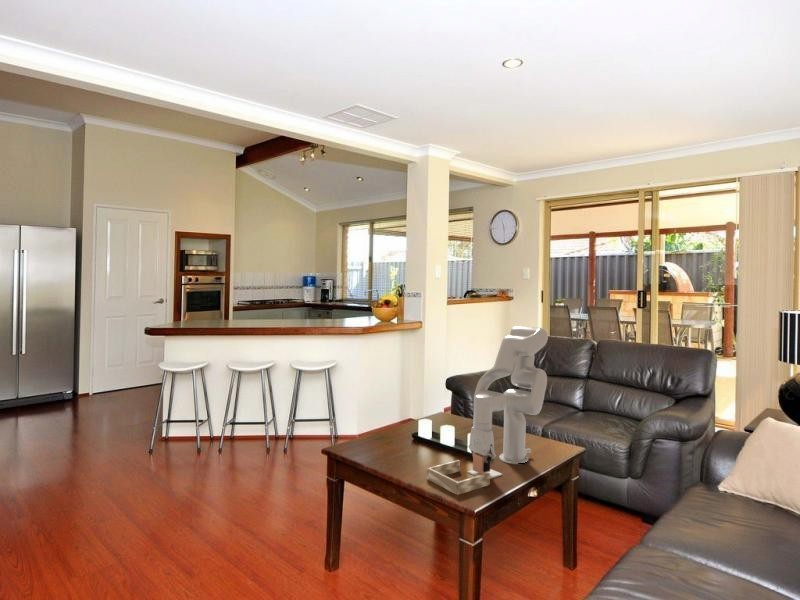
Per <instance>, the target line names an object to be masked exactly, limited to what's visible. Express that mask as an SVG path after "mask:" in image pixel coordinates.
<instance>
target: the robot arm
mask: <svg viewBox="0 0 800 600" xmlns="http://www.w3.org/2000/svg"><path fill="white" fill-rule="evenodd" d="M548 340H549V336H548V332H547V330H546V329H545V328H542V327H534V326H524V325H516V326H513V327H511V329H510V331H509V335H506V336H505V337H503V339H502V341H501V344H500V347H499V349H498V352H497V356H496V359H495V361H494V365H493V366H492V367H491V368H490V369H488V370H487V371H486V372H484V374H483V375H482V376H481V377H480V378H479V380H478V382H477V383H476V384H477V385H476V388H475V391H474V394H473V419H472V425H473V426H472V427H471V429H470V435H469V445H468V448H469V450H470V452H471V454H472V457H473V453H478V454H480V455H483V456H484V460H485V462H484V469H483V471H484V472H487V471H490V469H491V462H492V461H493V460H494V459H495V458H496V457H497V455H496V453H495V438H494V430H493V412H502V411H503V441H502V442H503V444H502V450H503V451H502V453H501V454H500V455H499V456H498V457H499V460H500V461H501V462H503V463H506V464H510V465H519V464H518V463H525V462H527V461H528V462H529V457H528V456H527V454H530V453H532V449H531V448H530V447H528V448H526V431H527V430H526V429H527V427H526V426H527V423H526V422H527V420H526V417H525V414H526V415H532V416H536V415H539V414H540V412H541V410H542V408H543V404H544V400H545V395H546V390H547V385H548V375H547V373H546V371H545V370H543V369H541V368H538V367H534V364H535V357H536V356H535V355H536V354H537V353H538V352H539V351H541V349H543V348H544V347H545V346H546V345H547V342H548ZM508 376H510V382H511V384H512V385H513V386H516V387H519V388H523V389H529V390H530V391H526V390H523V389H522V390H521V389H516V388H509V389H507V390H505V391H504V392H503V393H501V392H498V391H493V390H488V389H489V387H490V385H491V384H492V383H494V382H495V381H496V380H499V379H502V378H505V377H508ZM487 456H488V458H487ZM490 461H491V462H490ZM528 462H527V463H528ZM525 464H526V463H525Z"/></svg>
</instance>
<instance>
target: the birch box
mask: <svg viewBox="0 0 800 600" xmlns="http://www.w3.org/2000/svg"><path fill="white" fill-rule="evenodd" d="M460 471H461V459H460V460H459V459H456V460H453V461H449V462H445V463H441V464H438V465H434V466H431V467H427V468H426V480H427V481H429V482H431V483H434V484H435V485H437V486H439V487H441V488H443V489H445V490H447V491H448V492H451V493H453V494H455V495H457V496H459V495H462V494H465V493H469V492H471V491H475V490H478V489H481V488H483V487H488V486H489V485H490V484H491V479H490V473H486V474H482V475H479V476H473V477H469V478H465V479H461V480H459V481H458V480H456V479H453V478H451V477H449V476H447V475H451V474H454V473H458V472H460Z"/></svg>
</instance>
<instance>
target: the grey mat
mask: <svg viewBox="0 0 800 600" xmlns="http://www.w3.org/2000/svg"><path fill="white" fill-rule="evenodd" d="M487 473H490V480H491V479H495V478H498V477H502V476H503V473H501V472H499V471H496V470H494V469H492V468H490V472H487ZM467 474H469V475H471V476H473V477H475V476H479V475H482V474H480V473H478V472H476V471H474V470H473V469H471V470H467ZM484 474H486V473H484Z"/></svg>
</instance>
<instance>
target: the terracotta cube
mask: <svg viewBox="0 0 800 600" xmlns="http://www.w3.org/2000/svg"><path fill="white" fill-rule="evenodd" d="M472 455H473V456H472V459H473V460H472V470H474V471H476V472H478V473H480V474H484V473H487V472H490V471H487V472H484V471H483V469H484V462H485V460H484V456H483V455H480V454H478V453H473V454H472ZM487 458H488V456H487ZM491 462H492V461H490V463H491Z"/></svg>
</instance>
